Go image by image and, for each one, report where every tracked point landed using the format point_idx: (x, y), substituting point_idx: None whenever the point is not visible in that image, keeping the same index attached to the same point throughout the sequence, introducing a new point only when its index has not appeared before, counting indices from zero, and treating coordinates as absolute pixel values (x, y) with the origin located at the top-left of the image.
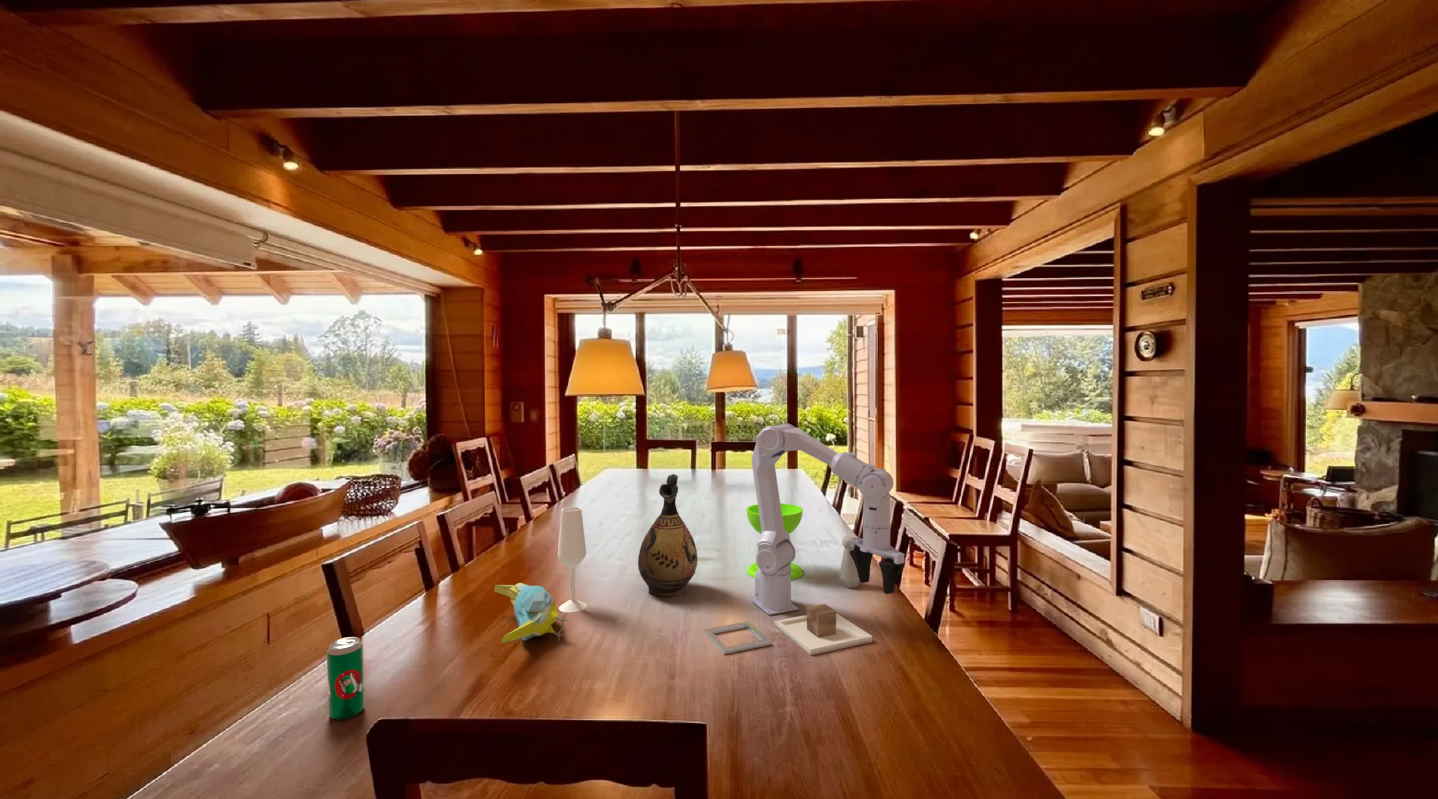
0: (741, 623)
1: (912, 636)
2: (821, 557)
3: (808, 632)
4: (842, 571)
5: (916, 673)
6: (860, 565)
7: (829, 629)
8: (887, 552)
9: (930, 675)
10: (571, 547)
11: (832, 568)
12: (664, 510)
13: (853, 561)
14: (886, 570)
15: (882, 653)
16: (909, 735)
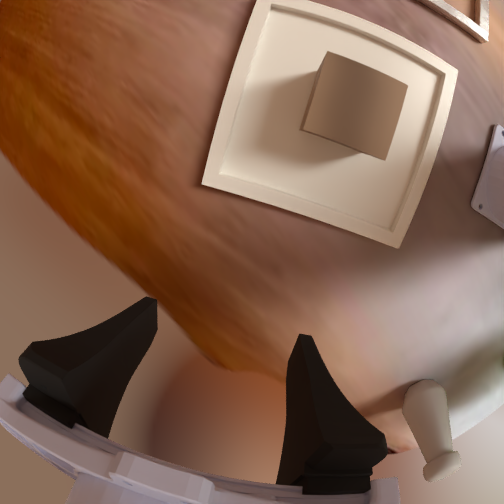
0: (484, 23)
1: (171, 282)
2: (483, 415)
3: None
4: (441, 401)
5: (67, 142)
6: (306, 398)
7: (307, 105)
8: (19, 433)
9: (54, 159)
10: None
11: (463, 407)
12: None
13: (424, 433)
14: (49, 341)
15: (149, 149)
16: (19, 21)
